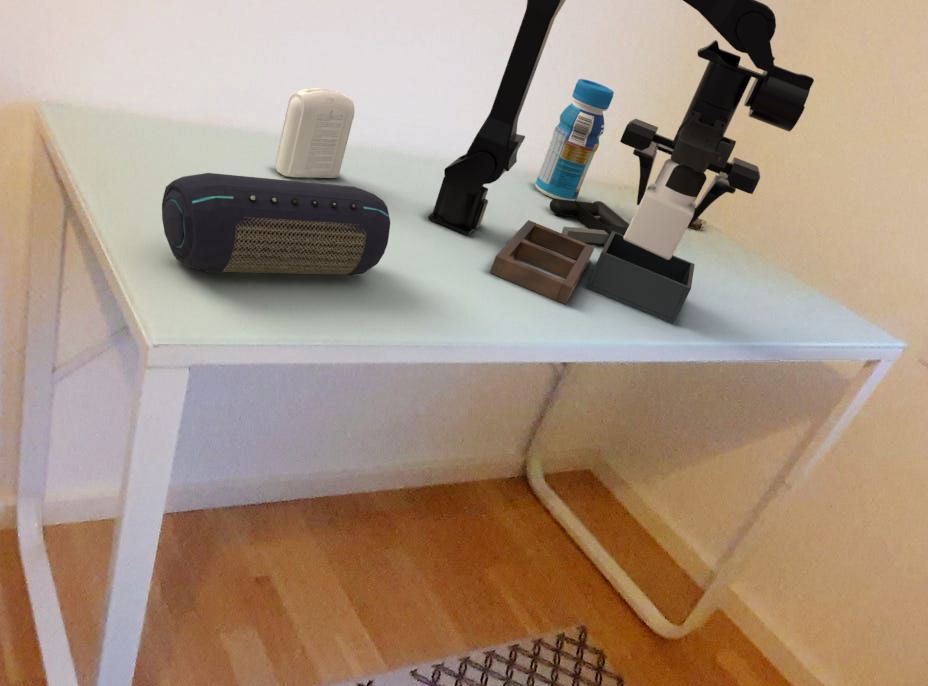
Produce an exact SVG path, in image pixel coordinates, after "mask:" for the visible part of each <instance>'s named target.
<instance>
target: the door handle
mask: <svg viewBox="0 0 928 686" xmlns="http://www.w3.org/2000/svg"><path fill="white" fill-rule="evenodd" d="M549 209H550V212H552V214H554V215H557V216H558V215H559V216H567V217H568V216H569V217H574V218H575V219H576V220H577V221H578V222H579V223H580V224H582V225H583V226H584V227H585V228H583V227H574V226H573V227H572V226H563V227H562V230H561V232H560V233H561V234H564V235H566V236H569V237H571V238H574V239H576V240H579V241H581V242H583V243H590V244H600V245H602V246H603V247H604V246H605V244H606V242H607V240H608V238H609V236H610V234H611V232H612V231H614V232H617V233H619V234H622V235H625V233H626V231H627V229H628V227H629V225H630V222H628V221H626V220H625V219H624V218H623V217H621V216H620V215H619V214H617V212H615V211H614V210H613V209H612V208H610V207H609V206H608V205H606V203H604V202H603V201H601V200H596V201H593V202H589V201H579V200H575V201H571V200H561V199H554V198H552V200H551V201H549Z"/></svg>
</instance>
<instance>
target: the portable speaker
mask: <svg viewBox="0 0 928 686" xmlns="http://www.w3.org/2000/svg"><path fill="white" fill-rule="evenodd" d="M161 219H162V220H161V221H162V227H163V233H164V236H165V238H166V240H167V243H168V245H169V248H170V250H171V252H172V255H173V257H174V258H175V260H177V261H178V262H179V263H181V264H182V265H184V266H187V267H189V268H191V269H194V270H195V271H199V272H204V273H242V274H243V273H244V274H245V273H248V274H249V273H250V274H285V275H287V274H289V275H325V276H326V275H330V276H331V275H332V276H349V277H351V276H357V275H362V274H364V273H366V272H368V271H370V270H371V269H372V268H374V267H375V266H376V265H378V264H379V263H380V261H381V259H382V257H383V256H384V254H385V253H386V250H387V247H388V244H389V236H390V229H391V218H390V214H389V208H388V205H387V204H386V202H385V201H384V200H383V199H382V198H381V197H379V196H378V195H376V194H375V193H373V192H370V191H367V190H366V189H362V188H359V187H356V186H351V185H340V184H331V183H321V182H309V181H299V180H288V179H277V178H266V177H255V176H246V175H235V174H226V173H225V174H224V173H216V172H215V173H214V172H204V173H197V174H191V175H185V176H181V177H179V178H176V179H174V180H172V181H171V182H170V183H168V185H166V186H165V189H164V192H163V196H162V202H161Z"/></svg>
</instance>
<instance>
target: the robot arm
mask: <svg viewBox="0 0 928 686" xmlns="http://www.w3.org/2000/svg"><path fill="white" fill-rule="evenodd" d="M566 1H567V0H526V8H525V12H524V14H523V17H522V20H521V23H520V26H519V29H518V31H517V34H516V37H515V41H514V43H513V46H512V49H511V51H510V54H509V57H508V60H507V63H506V66H505V69H504V72H503V74H502V77H501V80H500V83H499V86H498V89H497V92H496V95H495V96H494V97H495V98H494V100H493V103H492V106H491V109H490V112H489V114H488V115H487V117H486V119H485V120H484V122H483V123H482V126H481V127H480V129H478V132H477V133H476V135H475V137H474V139H473V141H472V142H471V144H470V146H469V147H468V149H467V151H466V153H465V154H463V155H461V156H459V157H457V158H456V159H455V160H453V162H451V163H450V164H449V165H448V166H446V167H445V168H444V170H443V171H444V176H443V179H442V182H441V185H440V188H439V191H438V195H437V198H436V201H435V205H434V208H433V211H432V212H430V214H428V216H427V218H428V220H430V221H432V222H435V223H438V224H440V225H442V226H444V227H447V228H449V229H451V230H454V231H457V232H459V233H461V234H464V235H470V234H471V233H472V232H473V231H475V230H477V229H478V228H480V226H481V224H482V222H483V218H484V215H485V212H486V209H487V206H488V203H489V200H488V199H487V195H488V192H489V188H488V187H485V186H484V185H489V184H493V183H494V182H497V181H498V180H499V179H500V178H501V176H503V174H504V173H505V172H509V171H510V170H511V169H512V168H513V167H514V165H515V164H516V163H517V162H518V158H517V157H518V153H519V149H520V147H521V146H522V144H523V142H524V141H525V139H526V136H525V135H523V134H518V133H517V132H518V122H519V119H520V118H519V117H520V115H521V111H522V109H523V107H524V105H525V102H526V98H527V95H528V93H529V90H530V87H531V85H532V82H533V80H534V76H535V74H536V71H537V68H538V66H539V63H540V60H541V58H542V55H543V52H544V49H545V46H546V44H547V42H548V38H549V35H550V34H551V30H552V27H553V25H554V22H555V20H556V18H557V15H558V14H559V12H560V10H561V9H562V8H563V6H564V4H565V2H566ZM682 1H683V2H684V3H685V4H688V6H690V7H691V8H693V9H694V10H696V11H697V12H698V13H699V14H700V15H701V16H702V17H703V18H704V19H705V20H706V21H707V22H708V23H709V24H710V25H711V26H712V27H713V28H714V29H715V30H716V31H717V33H718V34H719V35H720V36H721V37H722V38H723V39H724V40H725V42H727V43H728V44H729V45H730V46H731V47H732V48H733V49H734V50H735V51H738V52H739V53H743V54H747V56H748V57H749V59H750V61H751V62H752V64H753V65H754V67H755V68H756V69H759V70H761V71H762V73H761V72H758V71H755V70H752V69H750V68H747V67H745V66H743V65H740V62H741V59H742V57H741V56H740V55H737V54H736V53H732V52H729V51H727V50H724V49H722V48H720V46H719V41H718V40H717V39H714V40H713V41H712V42H711V43H709V44H708V45H706V46H704V47H701V48H699V49H698V50H697V52H696V53H697V57H699V58H701V59H703V60H706V61H708V63H707V65H706V67H705V70H704V72H703V74H702V76H701V79H700V81H699V83H698V85H697V87H696V90H695V92H694V94H693V96H692V98H691V101H690V103H689V106H688V108H687V110H686V112H685V115H684V117H683V119H682V121H681V124H680V126H679V127H678V129H677V132H676V134H675V135H674V138H673V139H671V138H668V137H666V136H664V135H661V134H658V133H657V132H658V130H659V127H658V126H657V125H654V124H651V123H649V122H645V121H643V120H641V119H638V118H634V119H632V120H630V121H629V122H628V123H627V124H626V126H625V128H624V131H623V134H622V135H621V138H620V140H619V142H620V143H621V144H623V145H625V146H628V147H631V148H632V149H633V151H632V154H633V155H634V156H635V157H637V158H638V159H639V160H638V161H639V181H638V189H637V190H638V191H637V199H636V205H637V206H639V204H640V202H641V200H642V198H643V196H644V194H645V192H646V190H647V188H648V184H649V180H650V177H651V175H652V170H653V169H654V168H653V167H654V164H655V161H656V159H657V158H656V157H657V154H658V151H659V152H662V153H664V154H667V155H670V159H671V160H672V161H673V162H674V163H677V164H683V165H686V166H688V167H691V168H693V169H694V171H697V172H701V173H703V172H704V173H705V172H706V171H711V172H713V173H715V175H714V177H713V178H712V181H711V182H710V184H709V186H708V187H707V189H706V190H705V192H704V194H703V195H702V197H701V198H700V200H699V202H698V203H697V204H696V207H695V211H694V215H693V217H692V219H691V221H690V223H689V226H691V224H692V223H693V222H694V221H695V220H696V219H697V218H699V217H700V216H701V215H702V214H703V213H704V212H705V211H706V210H707V209H708V208H709V206H711V205H712V204H713V203H714V202H715V201H717V199H719V198H720V197H721V196H723V195H725V194H726V193H729V194H731V195H733V194H735V193H736V190H738V191H741V192H743V193H747V194H748V195H749V194H751V195H753V194H754V192H755V190H756V188H757V186H758V184H759V182H760V180H761V172H760V169H759V167H758V165H756V164H753V163H750V162H747V161H746V160H743V159H740V158H738V157H733V158H732V160H731V162H730V161H729V159H730V157H731V155H732V153H733V151H734V148H735V146H736V144H737V141H736V140H734V139H732V138H729V137H727V136H725V134H726V132H727V129H728V128H729V125H730V124H731V122H732V119H733V118H734V115H735V113H736V111H737V108H738V107H739V104H740V102H741V100H742V98H743V96H744V93H745V91H746V89H747V88H748V86H749V84H750V81H751V79H752V78H754V81H753V83H752V85H751V86H750V88H749V91H748V93H747V95H746V97H745V100H744V103H743V106H744V107H747V108H749V110H748V115H747V116H748V117H749V118H751V119H753V120H754V119H755V120H757V121H759V122H762V123H765V124H768V125H769V126H773V127H775V128H778V129H781V130H784V131H786V132H789V133H790V132H791V131H792V130H793V129H794V128H795V126H796V125H797V124H798V121H799V120H800V118H801V116H802V115H803V113H804V110H805V109H806V106H805V105H806V103H807V101H808V97H809V94H810V91H811V88H812V86H813V84H814V82H815V79H814V78H813V77H812V76H810V75H807V74H804V73H798V72H794V71H792V70H788V69H786V68H783V67H781V66H778V65H776V64H775V62H774V61H775V60H776V57H775V56H774V55H773V50H772V45H771V41H772V38H773V37H774V36H775V33H776V28H777V21H776V20H777V19H776V15H775V13H774V11H773V10H772V9H771V8H770V7H769V6H768V5H766V4H765V3H763V2H760V1H758V0H682Z"/></svg>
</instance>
